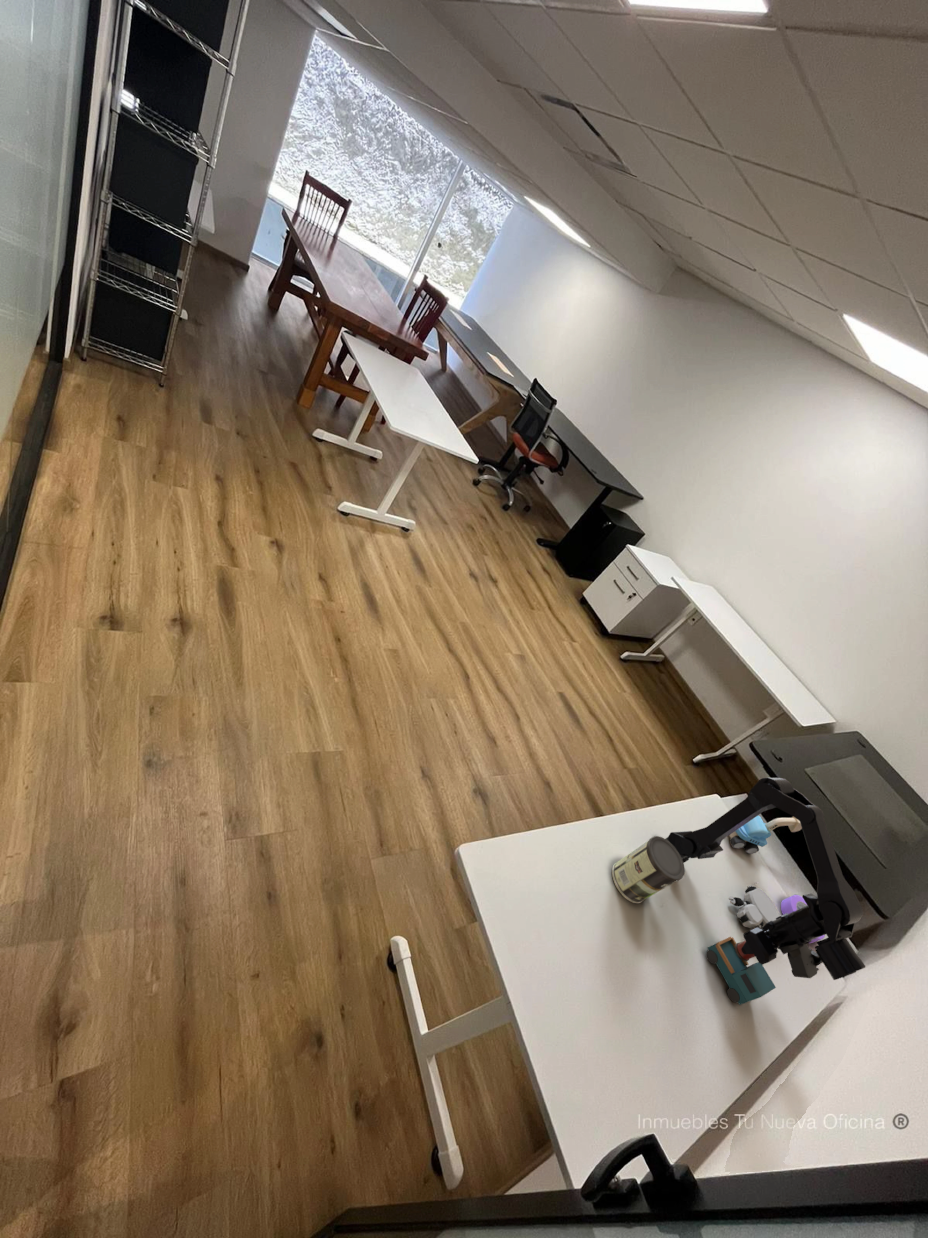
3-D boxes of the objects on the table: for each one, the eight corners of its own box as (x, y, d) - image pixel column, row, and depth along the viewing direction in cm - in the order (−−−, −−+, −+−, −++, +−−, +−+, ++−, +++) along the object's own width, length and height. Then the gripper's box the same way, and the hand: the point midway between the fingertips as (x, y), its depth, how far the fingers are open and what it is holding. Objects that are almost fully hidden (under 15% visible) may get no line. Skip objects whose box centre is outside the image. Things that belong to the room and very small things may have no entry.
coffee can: (651, 890, 135) (691, 866, 127) (633, 912, 127) (674, 888, 119) (623, 854, 139) (660, 829, 131) (604, 872, 131) (642, 847, 124)
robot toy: (749, 949, 138) (779, 931, 147) (762, 943, 136) (791, 926, 144) (719, 900, 145) (748, 886, 154) (731, 894, 143) (760, 880, 151)
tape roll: (821, 941, 153) (832, 936, 151) (799, 946, 147) (811, 941, 145) (794, 898, 161) (805, 893, 158) (773, 901, 155) (783, 896, 153)
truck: (702, 950, 129) (726, 938, 125) (718, 942, 134) (742, 931, 129) (734, 1007, 122) (760, 997, 118) (750, 997, 127) (776, 987, 122)
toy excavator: (766, 861, 167) (813, 836, 157) (727, 847, 162) (772, 820, 152) (755, 835, 173) (799, 810, 164) (717, 821, 169) (760, 794, 159)
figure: (735, 955, 124) (763, 943, 119) (733, 940, 127) (761, 927, 123) (748, 965, 124) (777, 953, 119) (746, 949, 127) (774, 937, 123)
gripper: (810, 980, 106) (749, 1002, 114) (847, 955, 117) (789, 977, 125) (771, 920, 112) (717, 945, 121) (810, 902, 123) (757, 926, 132)
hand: (746, 950), depth 125 cm, fingers closed on figure, 3 cm apart
